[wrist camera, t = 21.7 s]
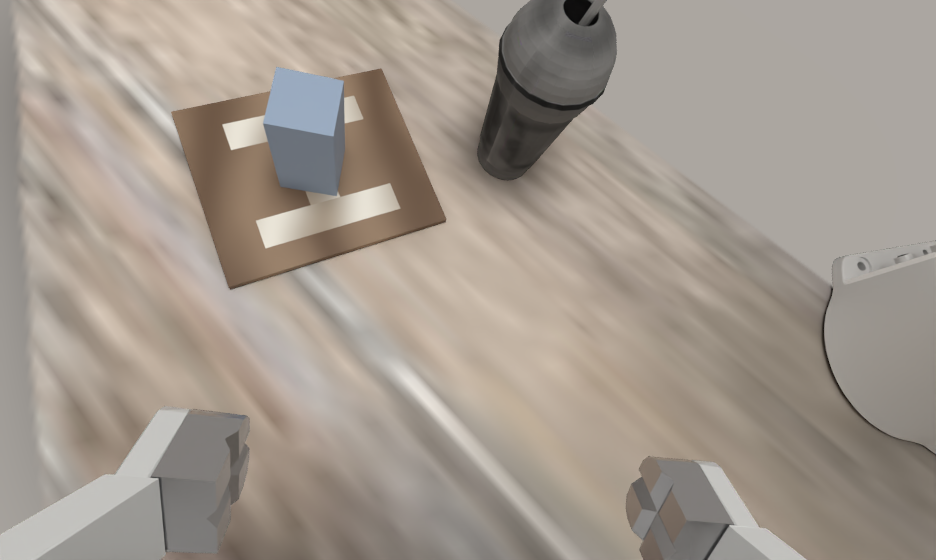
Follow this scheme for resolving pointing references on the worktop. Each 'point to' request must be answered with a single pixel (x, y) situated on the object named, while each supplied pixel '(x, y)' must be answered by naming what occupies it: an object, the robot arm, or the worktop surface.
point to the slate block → (306, 130)
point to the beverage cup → (544, 80)
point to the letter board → (296, 211)
